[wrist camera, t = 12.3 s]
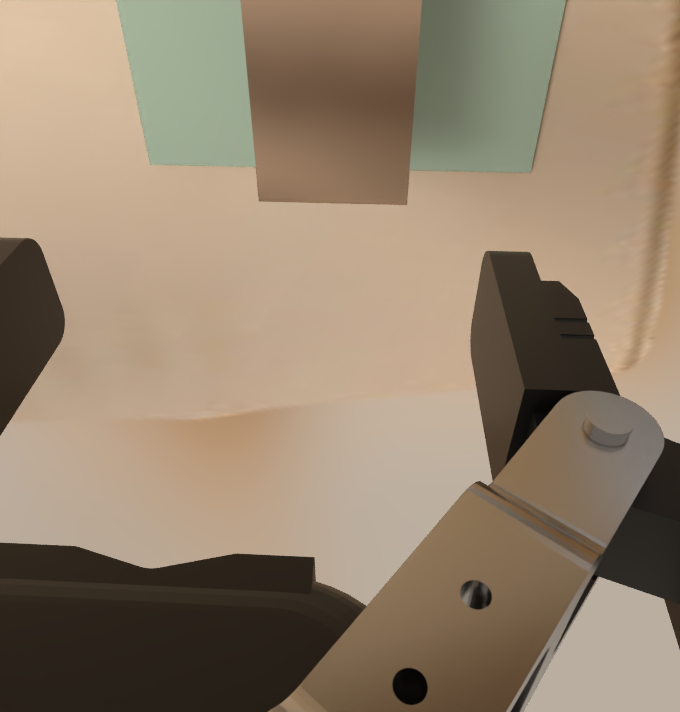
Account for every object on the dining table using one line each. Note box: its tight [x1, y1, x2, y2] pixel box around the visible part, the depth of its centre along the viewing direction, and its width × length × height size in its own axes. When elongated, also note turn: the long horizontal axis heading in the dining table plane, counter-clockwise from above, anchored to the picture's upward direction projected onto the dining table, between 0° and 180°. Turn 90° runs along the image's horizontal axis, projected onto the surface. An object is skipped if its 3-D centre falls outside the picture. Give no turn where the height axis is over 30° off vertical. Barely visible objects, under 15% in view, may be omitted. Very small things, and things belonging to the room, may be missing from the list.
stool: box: [240, 0, 422, 205], centre depth 25 cm, size 10×6×8 cm, turn 0°
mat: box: [116, 0, 566, 173], centre depth 28 cm, size 20×14×1 cm
